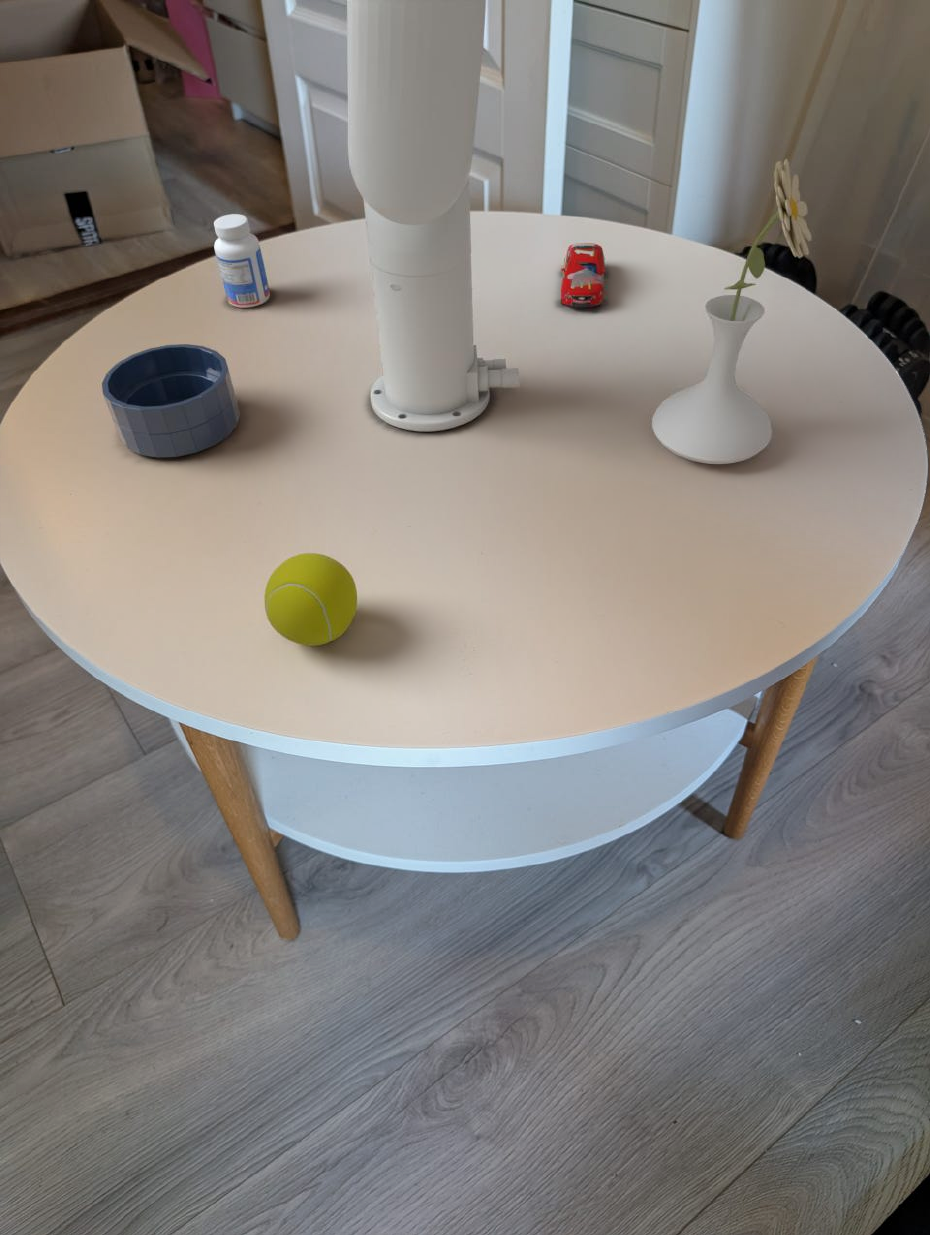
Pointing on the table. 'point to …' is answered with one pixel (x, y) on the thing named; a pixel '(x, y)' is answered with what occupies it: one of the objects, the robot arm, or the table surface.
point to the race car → (583, 275)
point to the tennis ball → (310, 599)
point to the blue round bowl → (171, 400)
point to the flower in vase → (731, 359)
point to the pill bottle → (240, 262)
